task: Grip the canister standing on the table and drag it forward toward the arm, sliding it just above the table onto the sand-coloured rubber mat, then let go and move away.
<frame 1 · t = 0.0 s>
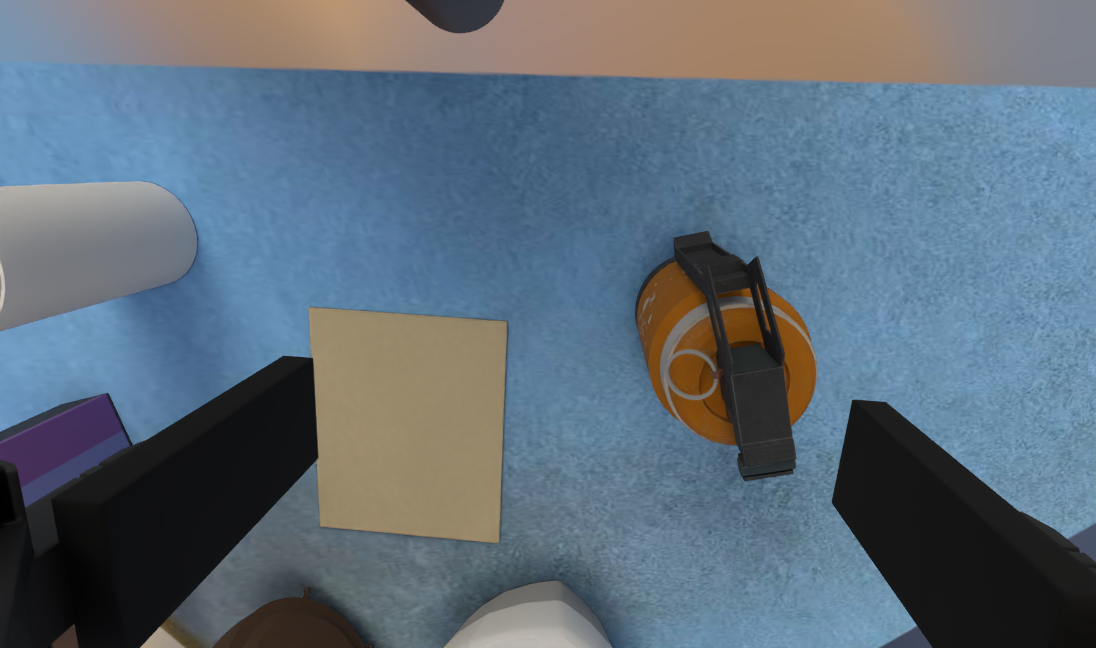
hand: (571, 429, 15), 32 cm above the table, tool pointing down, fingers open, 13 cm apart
alarm clock: (328, 625, 56), on the table
bowl: (539, 638, 55), on the table
mat: (408, 429, 50), on the table
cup: (149, 234, 48), on the table
cereal box: (127, 485, 54), on the table
canister: (691, 295, 46), on the table
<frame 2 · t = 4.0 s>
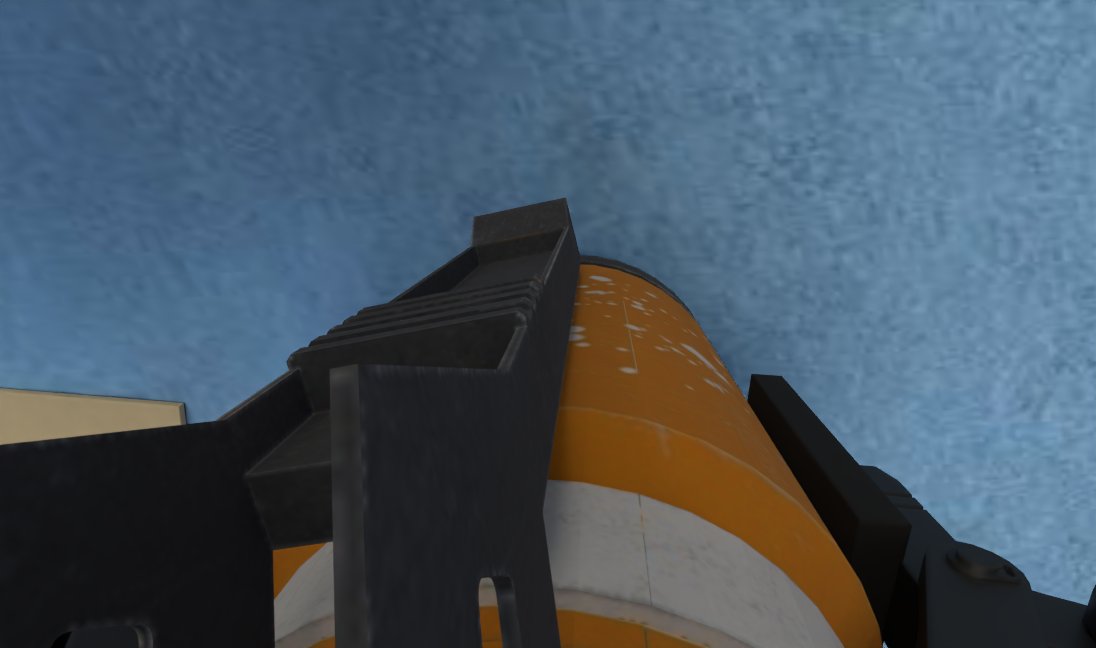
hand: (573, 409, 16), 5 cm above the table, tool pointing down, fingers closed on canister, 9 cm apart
mat: (25, 610, 25), on the table
canister: (571, 351, 20), on the table, touching gripper
when the fingers open (5 cm above the table, at t = 10.5 s): canister stays where it is, resting on mat.
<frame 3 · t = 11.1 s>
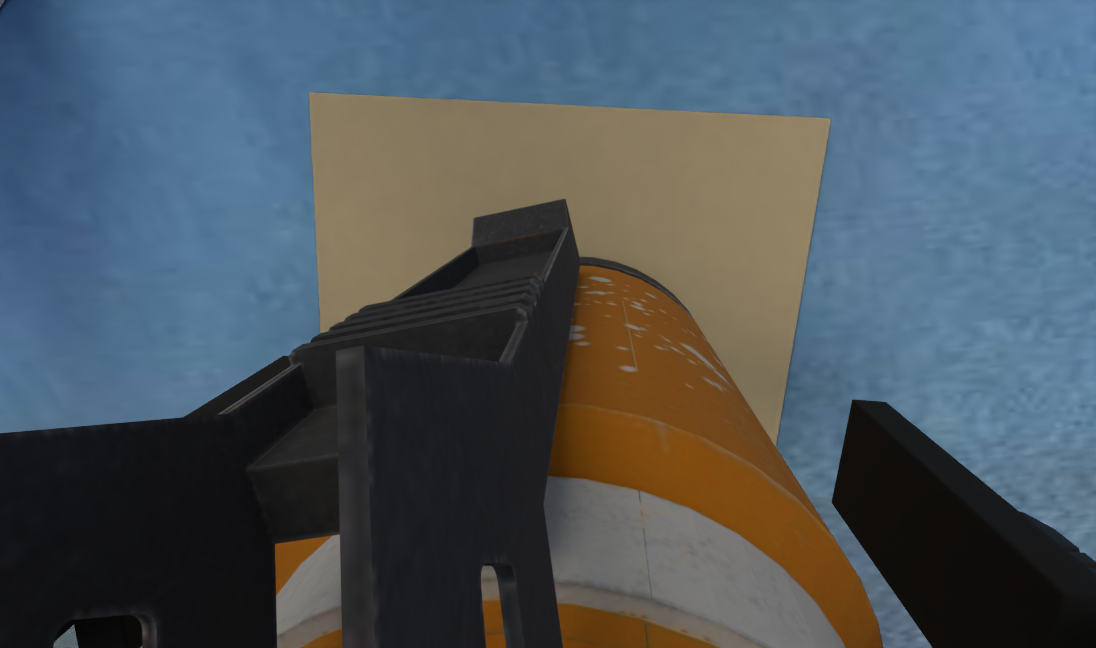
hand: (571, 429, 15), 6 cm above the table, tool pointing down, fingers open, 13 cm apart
mat: (546, 405, 21), on the table
canister: (571, 352, 20), resting on mat
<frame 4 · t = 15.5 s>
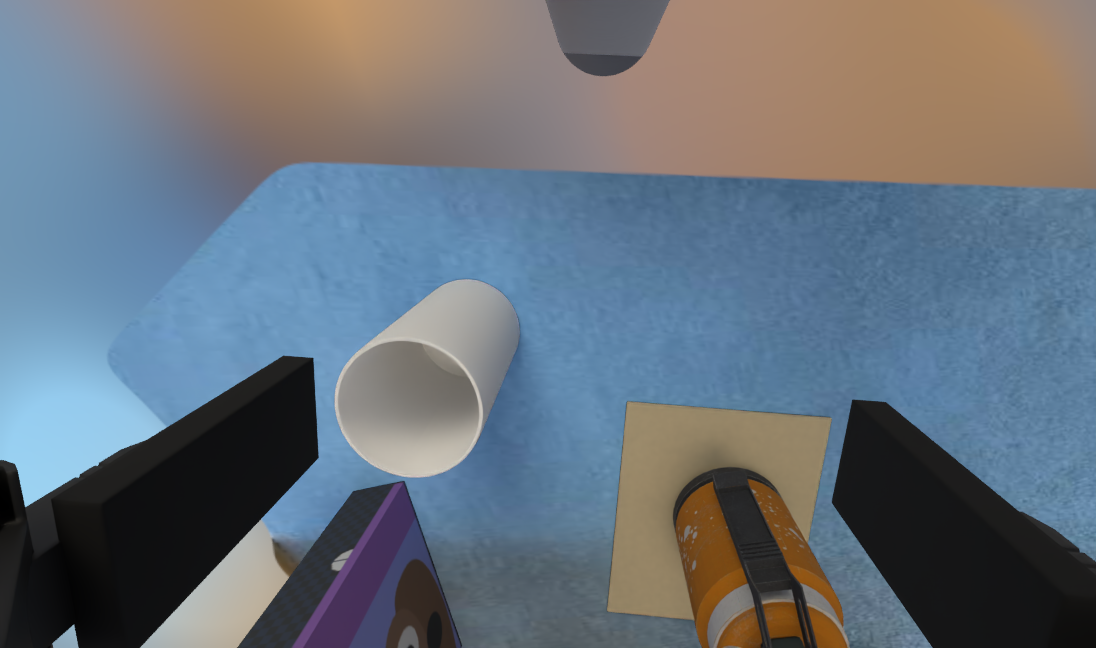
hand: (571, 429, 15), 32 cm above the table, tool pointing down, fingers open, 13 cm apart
mat: (711, 519, 50), on the table
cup: (469, 329, 48), on the table
cereal box: (409, 569, 54), on the table
canister: (724, 499, 50), resting on mat
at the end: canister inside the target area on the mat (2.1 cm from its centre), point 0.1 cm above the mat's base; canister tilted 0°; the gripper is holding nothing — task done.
